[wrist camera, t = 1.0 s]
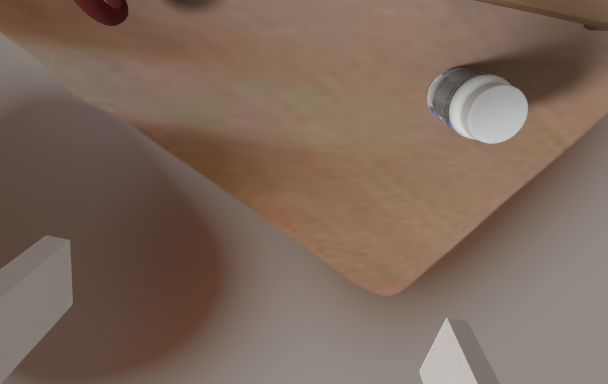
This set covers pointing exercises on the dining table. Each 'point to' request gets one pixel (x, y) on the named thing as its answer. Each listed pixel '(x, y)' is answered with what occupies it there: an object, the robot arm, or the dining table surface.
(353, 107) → the dining table surface
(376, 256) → the dining table surface
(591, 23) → the small wooden bench
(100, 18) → the mug
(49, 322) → the robot arm
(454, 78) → the pill bottle
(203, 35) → the dining table surface
